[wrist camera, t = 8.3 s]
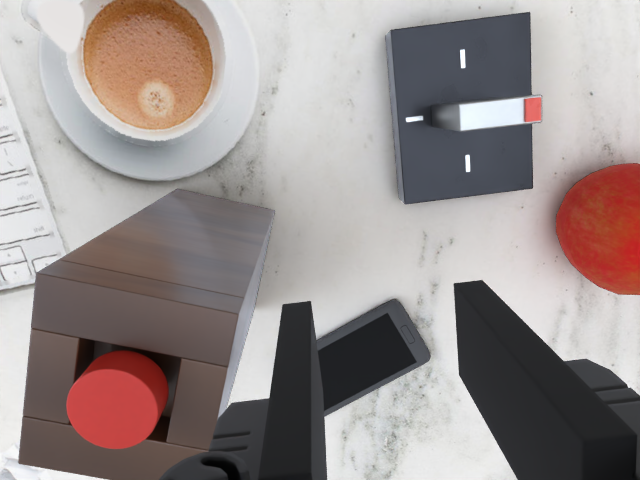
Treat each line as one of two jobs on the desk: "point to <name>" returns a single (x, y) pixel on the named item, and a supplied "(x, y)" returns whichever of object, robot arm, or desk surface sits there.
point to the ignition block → (146, 328)
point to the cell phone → (368, 354)
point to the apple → (604, 228)
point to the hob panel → (456, 86)
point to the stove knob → (487, 113)
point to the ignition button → (118, 399)
